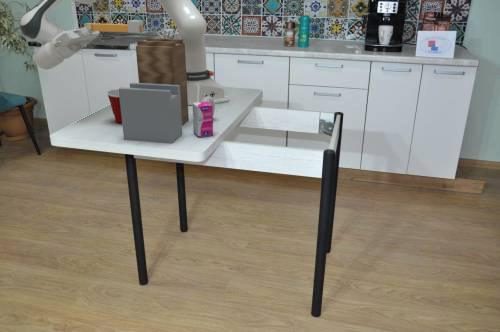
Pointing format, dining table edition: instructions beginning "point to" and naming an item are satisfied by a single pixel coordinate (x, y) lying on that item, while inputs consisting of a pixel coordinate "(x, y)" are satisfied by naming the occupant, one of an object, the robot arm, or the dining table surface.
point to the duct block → (151, 112)
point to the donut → (210, 100)
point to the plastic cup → (115, 104)
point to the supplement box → (202, 119)
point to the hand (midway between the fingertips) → (94, 25)
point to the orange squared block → (119, 27)
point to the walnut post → (164, 66)
